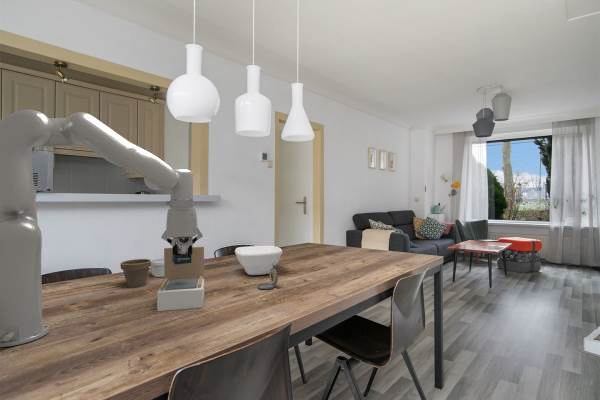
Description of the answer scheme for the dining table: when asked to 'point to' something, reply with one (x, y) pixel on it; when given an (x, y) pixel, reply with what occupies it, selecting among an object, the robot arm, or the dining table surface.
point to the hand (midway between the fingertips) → (182, 256)
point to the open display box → (182, 282)
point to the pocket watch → (273, 278)
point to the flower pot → (136, 271)
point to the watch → (182, 251)
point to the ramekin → (157, 267)
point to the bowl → (258, 258)
